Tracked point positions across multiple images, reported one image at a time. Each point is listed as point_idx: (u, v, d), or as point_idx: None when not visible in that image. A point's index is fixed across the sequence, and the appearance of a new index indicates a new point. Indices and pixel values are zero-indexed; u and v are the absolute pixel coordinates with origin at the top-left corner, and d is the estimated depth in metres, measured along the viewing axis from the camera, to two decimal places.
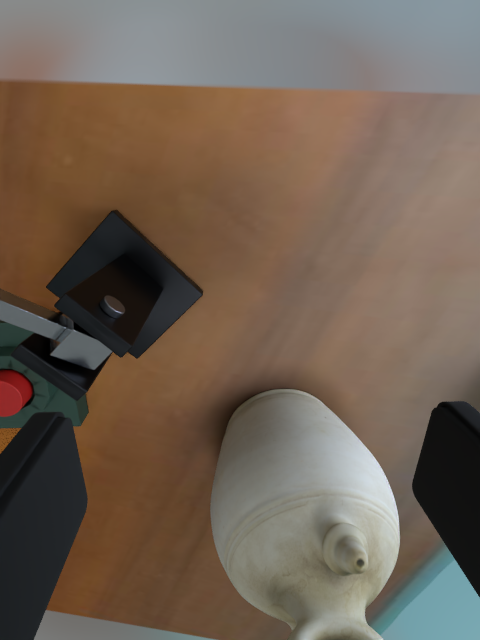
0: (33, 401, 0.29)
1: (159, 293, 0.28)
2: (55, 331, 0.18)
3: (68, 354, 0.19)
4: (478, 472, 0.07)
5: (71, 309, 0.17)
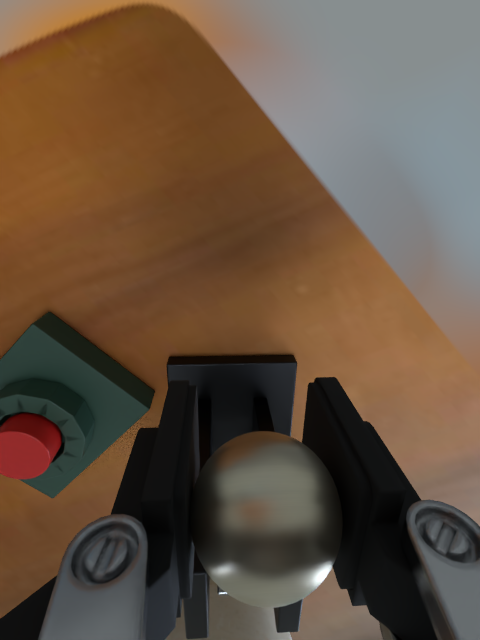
0: None
1: None
2: None
3: None
4: (325, 435, 0.08)
5: None
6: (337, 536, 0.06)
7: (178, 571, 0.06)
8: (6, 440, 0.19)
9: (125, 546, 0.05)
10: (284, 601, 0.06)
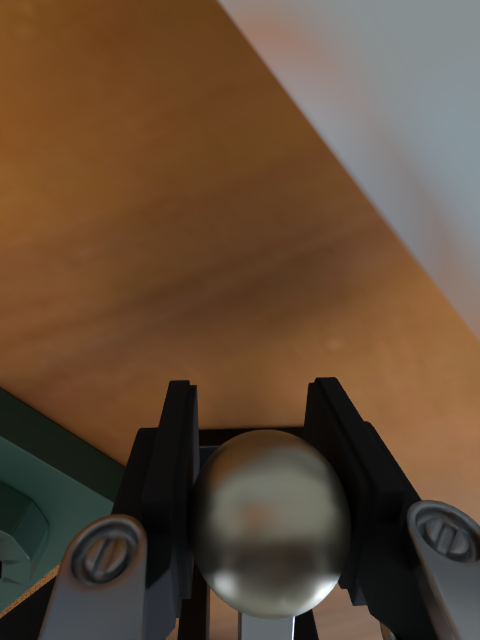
0: None
1: None
2: None
3: None
4: (325, 435, 0.08)
5: None
6: (342, 502, 0.06)
7: (178, 571, 0.06)
8: None
9: (125, 546, 0.05)
10: (292, 566, 0.05)
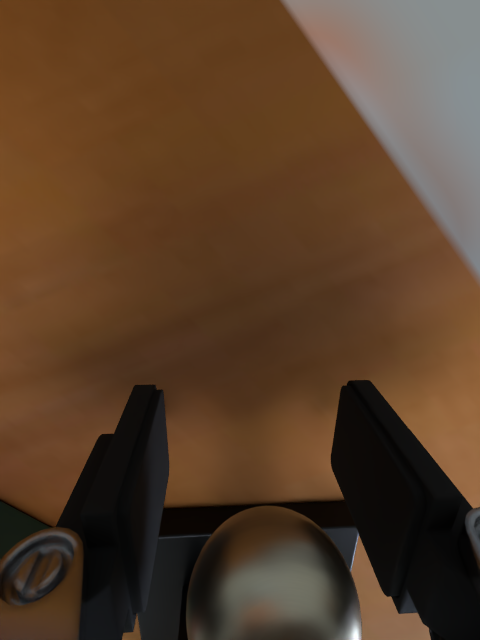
0: None
1: None
2: None
3: None
4: (364, 439, 0.08)
5: None
6: (346, 577, 0.06)
7: (127, 585, 0.06)
8: None
9: (60, 562, 0.05)
10: None
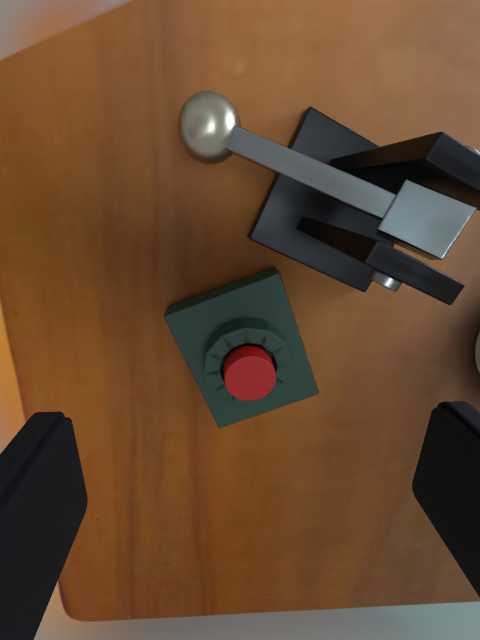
0: (276, 374, 0.25)
1: None
2: (382, 202, 0.14)
3: (401, 226, 0.13)
4: (478, 472, 0.07)
5: (450, 154, 0.12)
6: (200, 92, 0.16)
7: None
8: (232, 377, 0.23)
9: None
10: (188, 110, 0.15)
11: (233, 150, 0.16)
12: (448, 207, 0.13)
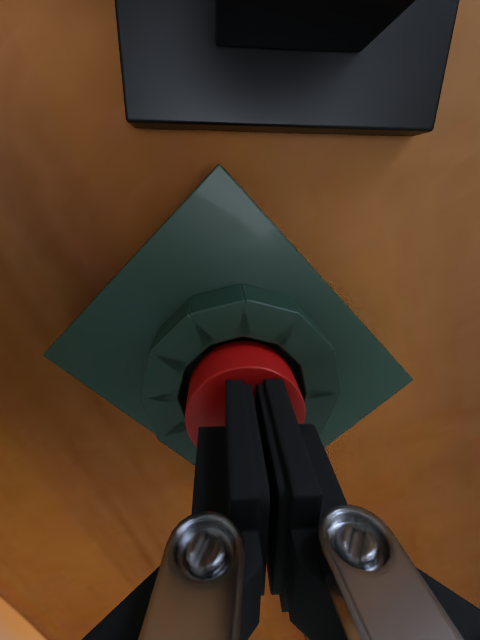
0: (307, 384, 0.11)
1: None
2: None
3: None
4: (264, 438, 0.08)
5: None
6: None
7: None
8: None
9: (221, 542, 0.05)
10: None
11: None
12: None
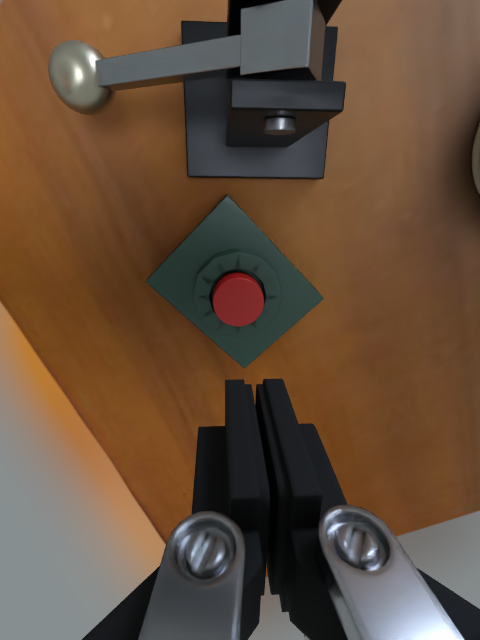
0: (266, 292, 0.25)
1: None
2: (238, 49, 0.14)
3: (258, 58, 0.13)
4: (264, 438, 0.08)
5: None
6: None
7: None
8: (221, 307, 0.23)
9: (221, 542, 0.05)
10: (50, 68, 0.16)
11: (105, 84, 0.17)
12: (288, 10, 0.12)
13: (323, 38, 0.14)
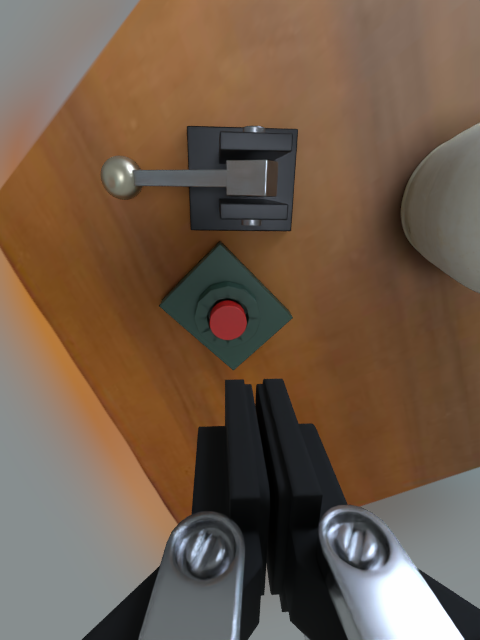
0: (249, 314, 0.33)
1: None
2: (225, 177, 0.22)
3: (237, 187, 0.22)
4: (264, 438, 0.08)
5: (232, 140, 0.20)
6: None
7: None
8: (216, 326, 0.32)
9: (221, 543, 0.05)
10: (103, 175, 0.25)
11: (138, 185, 0.25)
12: (253, 165, 0.21)
13: (277, 172, 0.22)
